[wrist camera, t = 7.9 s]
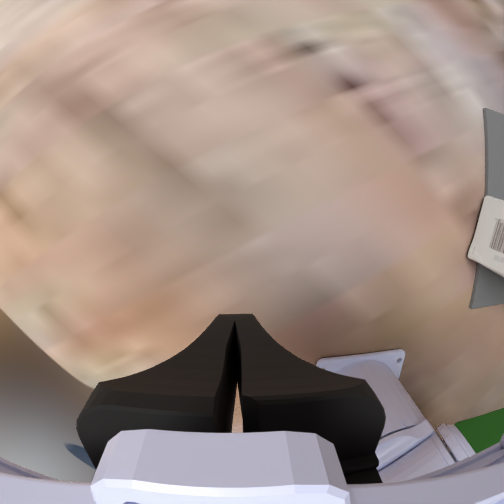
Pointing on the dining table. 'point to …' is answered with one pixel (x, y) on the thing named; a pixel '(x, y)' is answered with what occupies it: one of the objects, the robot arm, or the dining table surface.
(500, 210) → the skincare box
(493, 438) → the hardback book
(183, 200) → the dining table surface
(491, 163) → the mat
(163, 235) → the dining table surface
